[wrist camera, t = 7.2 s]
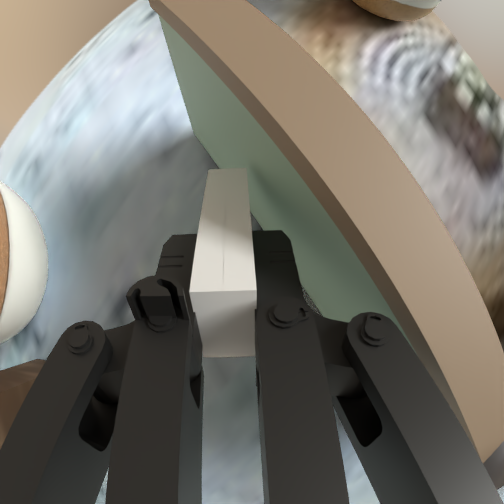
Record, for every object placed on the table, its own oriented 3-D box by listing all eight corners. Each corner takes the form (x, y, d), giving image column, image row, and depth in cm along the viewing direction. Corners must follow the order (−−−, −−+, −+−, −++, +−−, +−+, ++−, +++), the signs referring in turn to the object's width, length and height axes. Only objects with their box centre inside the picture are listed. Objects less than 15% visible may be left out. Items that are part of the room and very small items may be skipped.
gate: (403, 383, 18) (532, 453, 6) (375, 406, 17) (489, 500, 5) (220, 117, 19) (202, -36, 7) (188, 136, 19) (139, -10, 7)
